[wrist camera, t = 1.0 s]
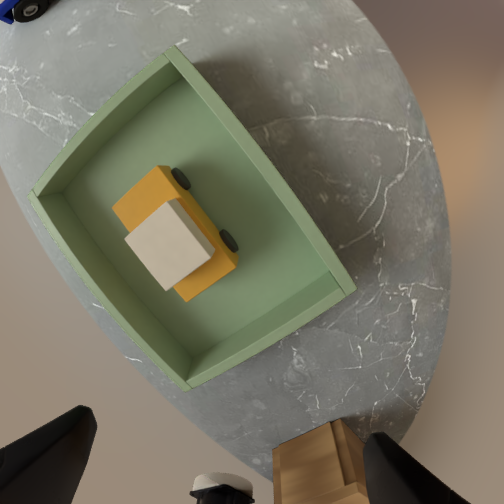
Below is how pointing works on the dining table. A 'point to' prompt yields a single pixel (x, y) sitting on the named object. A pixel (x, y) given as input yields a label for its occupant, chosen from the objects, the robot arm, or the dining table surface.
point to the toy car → (21, 10)
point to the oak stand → (320, 467)
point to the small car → (175, 233)
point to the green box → (216, 208)
